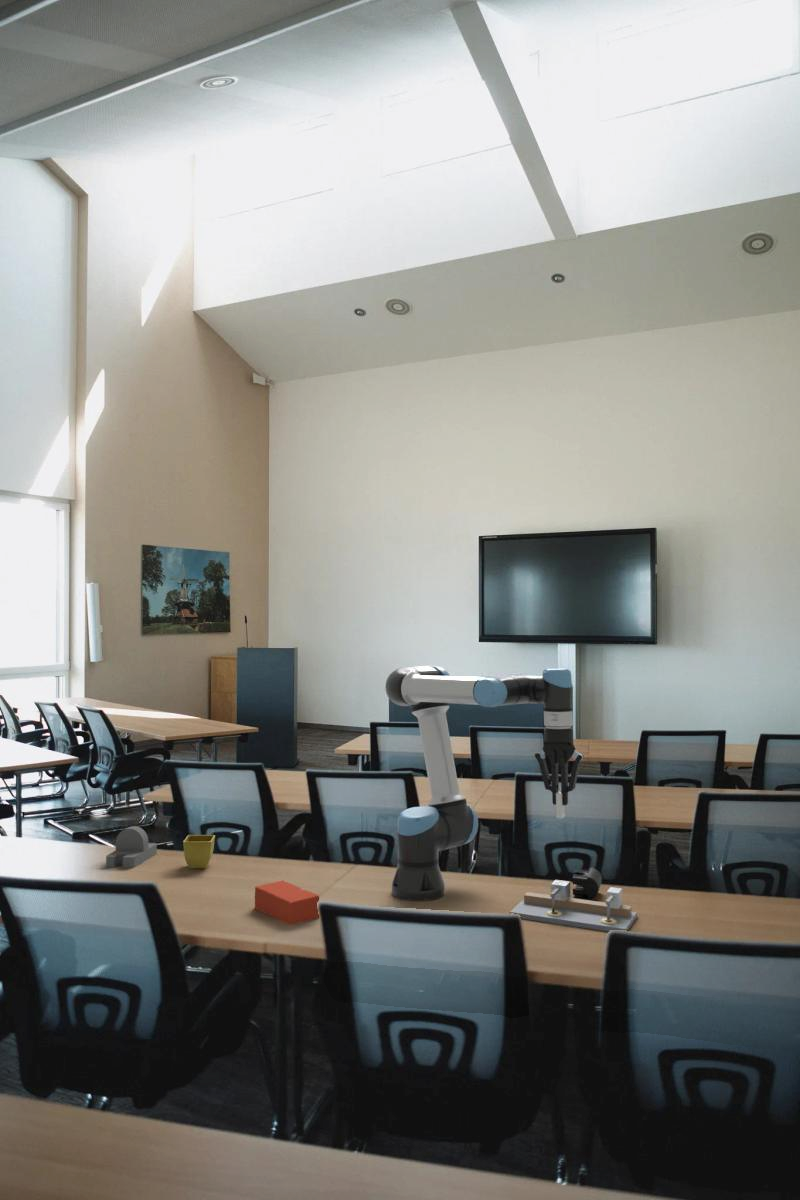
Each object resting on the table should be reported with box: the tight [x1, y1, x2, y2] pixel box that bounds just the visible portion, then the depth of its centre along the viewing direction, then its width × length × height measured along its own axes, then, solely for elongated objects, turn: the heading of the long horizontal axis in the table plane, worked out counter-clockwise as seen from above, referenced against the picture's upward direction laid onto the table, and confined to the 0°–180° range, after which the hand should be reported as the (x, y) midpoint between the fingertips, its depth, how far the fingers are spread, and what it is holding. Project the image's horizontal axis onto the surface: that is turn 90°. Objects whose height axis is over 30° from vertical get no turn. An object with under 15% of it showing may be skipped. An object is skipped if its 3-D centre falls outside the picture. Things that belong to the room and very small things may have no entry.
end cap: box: [572, 867, 603, 901], centre depth 247 cm, size 10×7×7 cm
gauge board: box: [509, 886, 638, 932], centre depth 230 cm, size 30×14×7 cm, turn 64°
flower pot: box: [182, 834, 216, 869], centre depth 278 cm, size 9×9×9 cm
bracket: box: [105, 825, 158, 869], centre depth 287 cm, size 10×18×11 cm, turn 171°
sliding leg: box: [549, 879, 571, 912], centre depth 232 cm, size 4×10×6 cm, turn 154°
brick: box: [254, 880, 320, 926], centre depth 234 cm, size 18×9×6 cm, turn 40°
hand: (560, 817), depth 231 cm, fingers closed
